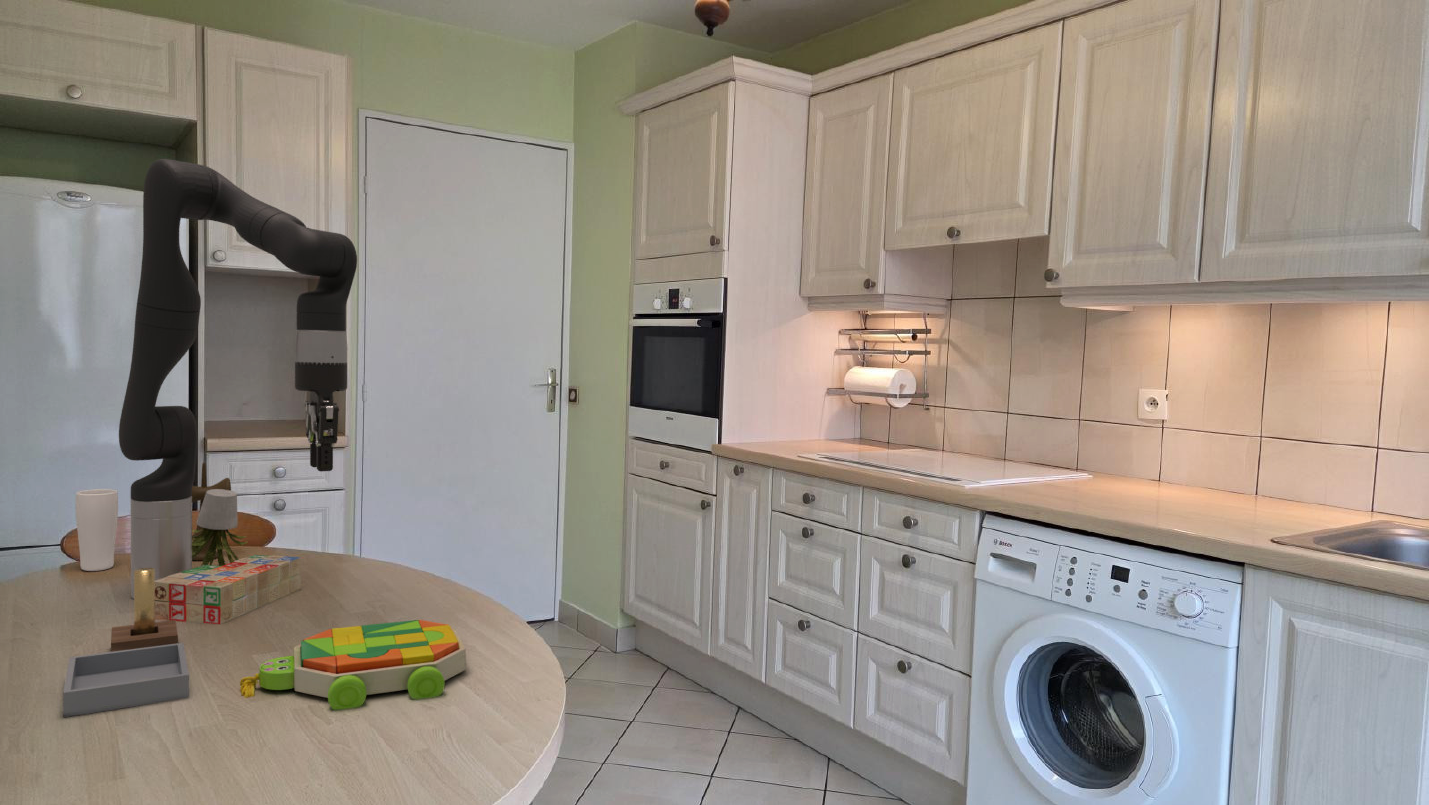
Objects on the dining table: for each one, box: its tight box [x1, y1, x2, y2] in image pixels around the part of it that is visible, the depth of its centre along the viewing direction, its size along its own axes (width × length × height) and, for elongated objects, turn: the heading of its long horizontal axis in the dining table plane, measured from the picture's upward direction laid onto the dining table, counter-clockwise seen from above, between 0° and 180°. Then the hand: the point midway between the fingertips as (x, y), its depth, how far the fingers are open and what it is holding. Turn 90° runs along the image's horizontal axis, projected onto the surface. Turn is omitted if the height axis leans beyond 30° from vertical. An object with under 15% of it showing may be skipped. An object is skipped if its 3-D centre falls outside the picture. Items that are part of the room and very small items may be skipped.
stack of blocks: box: [155, 554, 301, 625], centre depth 155 cm, size 21×6×12 cm
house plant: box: [192, 489, 250, 566], centre depth 174 cm, size 14×14×16 cm
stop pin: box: [133, 568, 156, 636], centre depth 131 cm, size 2×2×12 cm
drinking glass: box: [75, 488, 119, 572], centre depth 175 cm, size 7×7×15 cm
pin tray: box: [62, 642, 190, 718], centre depth 118 cm, size 14×13×3 cm
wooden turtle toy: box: [239, 619, 467, 711], centre depth 123 cm, size 22×28×6 cm
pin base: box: [110, 620, 179, 652], centre depth 131 cm, size 8×8×3 cm
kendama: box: [192, 461, 232, 562], centre depth 184 cm, size 6×10×20 cm, turn 123°
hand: (321, 468), depth 142 cm, fingers open, 5 cm apart
